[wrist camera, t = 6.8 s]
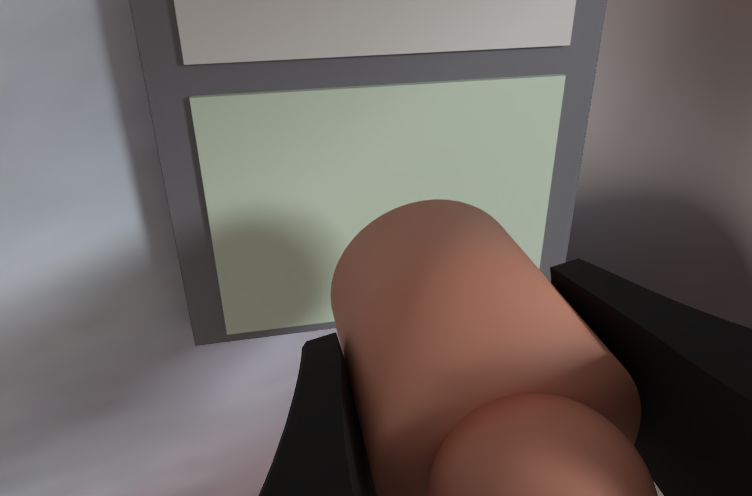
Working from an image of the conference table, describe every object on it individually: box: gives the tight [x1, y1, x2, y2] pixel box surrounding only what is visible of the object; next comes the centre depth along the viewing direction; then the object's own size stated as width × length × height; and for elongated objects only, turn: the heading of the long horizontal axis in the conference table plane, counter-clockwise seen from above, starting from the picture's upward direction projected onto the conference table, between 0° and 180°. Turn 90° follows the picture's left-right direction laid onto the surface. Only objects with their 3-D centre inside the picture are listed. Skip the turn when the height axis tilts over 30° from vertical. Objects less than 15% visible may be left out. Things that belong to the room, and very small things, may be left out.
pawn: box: [330, 199, 658, 496], centre depth 11 cm, size 4×4×8 cm
